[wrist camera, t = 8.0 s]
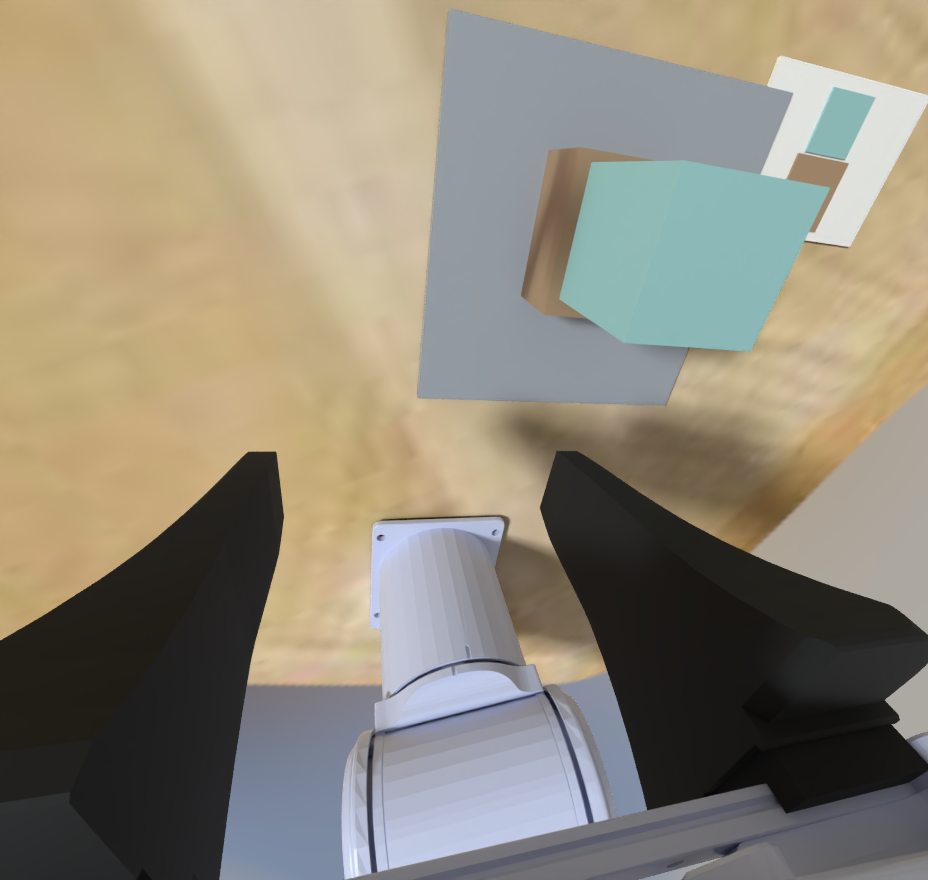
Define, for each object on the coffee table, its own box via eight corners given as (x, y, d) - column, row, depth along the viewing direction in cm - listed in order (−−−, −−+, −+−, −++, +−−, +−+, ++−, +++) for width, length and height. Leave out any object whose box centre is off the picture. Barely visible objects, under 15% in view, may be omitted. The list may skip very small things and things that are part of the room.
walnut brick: (628, 305, 21) (665, 324, 18) (520, 295, 19) (544, 315, 17) (671, 172, 18) (721, 172, 15) (548, 150, 17) (581, 147, 14)
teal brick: (659, 308, 18) (750, 351, 14) (559, 299, 17) (624, 343, 13) (705, 181, 15) (830, 187, 11) (591, 162, 14) (683, 160, 10)
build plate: (661, 402, 25) (665, 405, 24) (417, 394, 21) (417, 398, 21) (785, 94, 18) (793, 92, 17) (447, 12, 14) (450, 8, 14)
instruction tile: (845, 246, 22) (851, 247, 21) (712, 226, 20) (717, 227, 20) (926, 96, 19) (933, 95, 18) (778, 57, 17) (784, 55, 17)
